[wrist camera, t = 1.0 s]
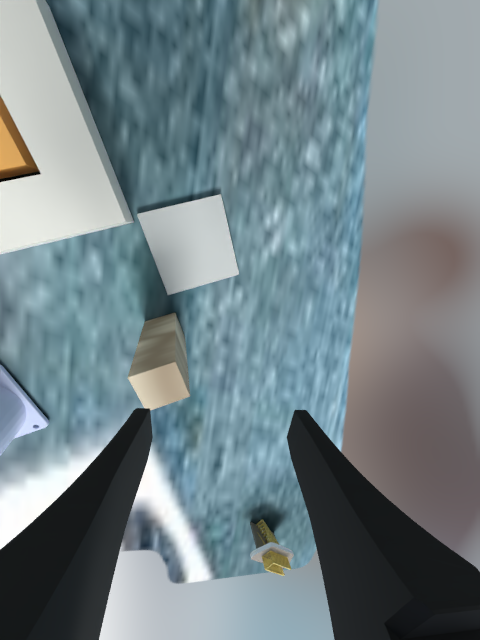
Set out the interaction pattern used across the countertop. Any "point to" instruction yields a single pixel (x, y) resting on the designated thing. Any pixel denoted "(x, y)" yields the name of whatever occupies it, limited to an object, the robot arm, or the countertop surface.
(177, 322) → the wooden square post
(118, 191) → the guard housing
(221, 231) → the mat
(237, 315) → the countertop surface
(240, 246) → the countertop surface
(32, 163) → the button
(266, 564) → the gold pronged connector
